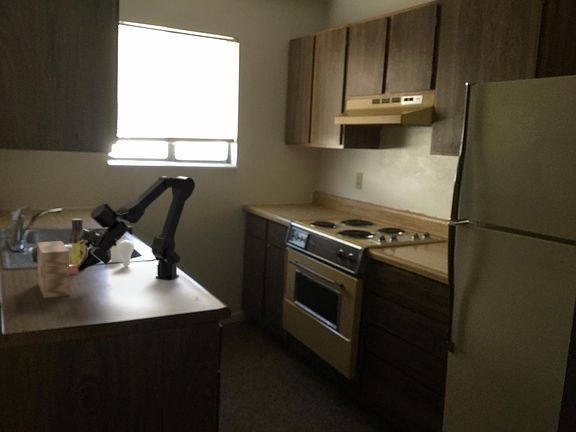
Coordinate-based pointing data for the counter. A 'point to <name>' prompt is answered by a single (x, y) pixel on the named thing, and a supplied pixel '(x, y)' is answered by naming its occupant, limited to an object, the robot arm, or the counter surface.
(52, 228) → the counter surface
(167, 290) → the counter surface
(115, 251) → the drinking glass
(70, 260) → the sauce bottle
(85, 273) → the counter surface
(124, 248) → the lightbulb
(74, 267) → the salmon pink cylinder
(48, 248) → the wooden block
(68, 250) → the ivory button
